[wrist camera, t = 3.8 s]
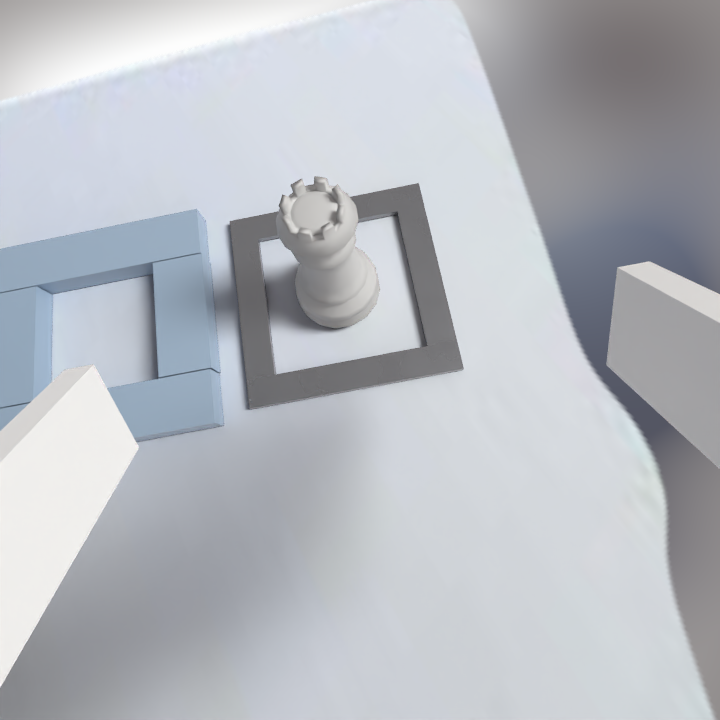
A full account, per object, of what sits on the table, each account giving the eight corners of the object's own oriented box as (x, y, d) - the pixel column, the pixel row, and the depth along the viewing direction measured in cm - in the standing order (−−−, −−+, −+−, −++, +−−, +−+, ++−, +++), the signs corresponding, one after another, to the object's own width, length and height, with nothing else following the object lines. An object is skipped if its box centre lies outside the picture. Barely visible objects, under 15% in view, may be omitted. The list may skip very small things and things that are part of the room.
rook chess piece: (320, 244, 25) (286, 140, 17) (393, 272, 24) (391, 176, 17) (284, 312, 24) (232, 235, 16) (359, 344, 23) (340, 278, 16)
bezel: (251, 409, 23) (249, 408, 23) (231, 224, 26) (229, 221, 26) (462, 370, 22) (463, 368, 22) (418, 186, 25) (418, 183, 25)
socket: (-1, 467, 23) (-22, 466, 22) (9, 260, 26) (-9, 250, 25) (225, 425, 23) (215, 422, 22) (206, 220, 26) (198, 208, 25)
